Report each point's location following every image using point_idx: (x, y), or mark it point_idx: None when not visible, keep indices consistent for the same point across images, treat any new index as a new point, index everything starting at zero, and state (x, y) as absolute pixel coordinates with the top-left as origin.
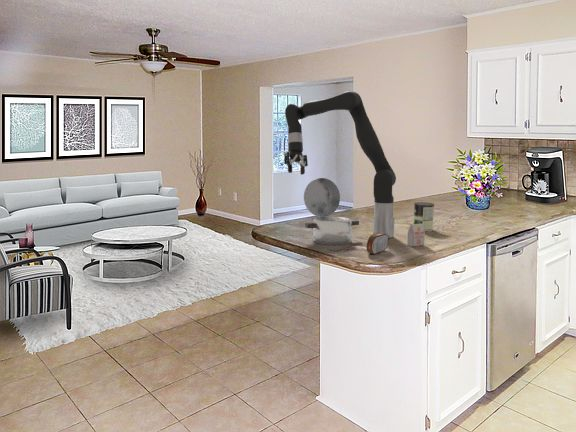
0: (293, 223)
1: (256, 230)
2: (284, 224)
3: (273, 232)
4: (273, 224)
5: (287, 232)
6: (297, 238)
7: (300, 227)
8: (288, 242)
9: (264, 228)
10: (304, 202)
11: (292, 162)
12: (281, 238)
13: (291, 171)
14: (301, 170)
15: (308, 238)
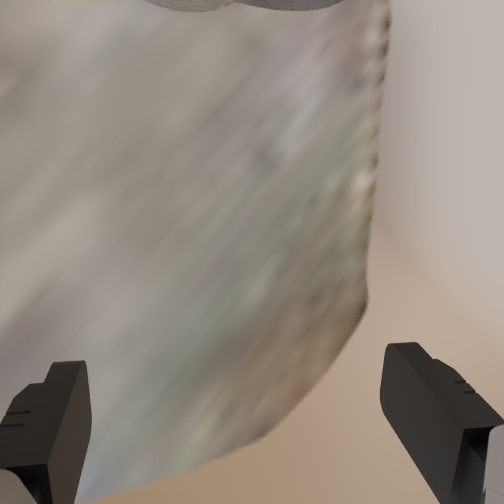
0: None
1: (324, 373)
2: None
3: (290, 279)
4: (143, 477)
5: (231, 234)
6: (290, 79)
7: (64, 309)
8: (380, 43)
9: (260, 397)
10: (321, 7)
11: (497, 483)
12: (350, 135)
13: (413, 343)
14: (75, 458)
15: (246, 36)
